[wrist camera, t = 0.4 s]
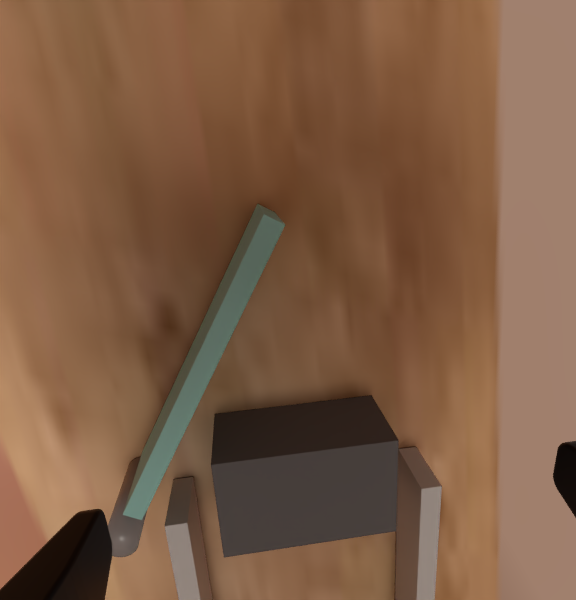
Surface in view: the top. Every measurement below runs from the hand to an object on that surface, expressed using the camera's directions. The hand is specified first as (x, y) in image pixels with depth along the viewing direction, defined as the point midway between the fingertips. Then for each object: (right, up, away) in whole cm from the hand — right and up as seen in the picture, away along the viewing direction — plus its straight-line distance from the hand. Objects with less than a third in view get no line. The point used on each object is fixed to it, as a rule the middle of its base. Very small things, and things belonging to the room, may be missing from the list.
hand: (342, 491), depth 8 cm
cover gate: (-5, +2, +11) cm, 12 cm away
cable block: (-1, -4, +14) cm, 15 cm away
